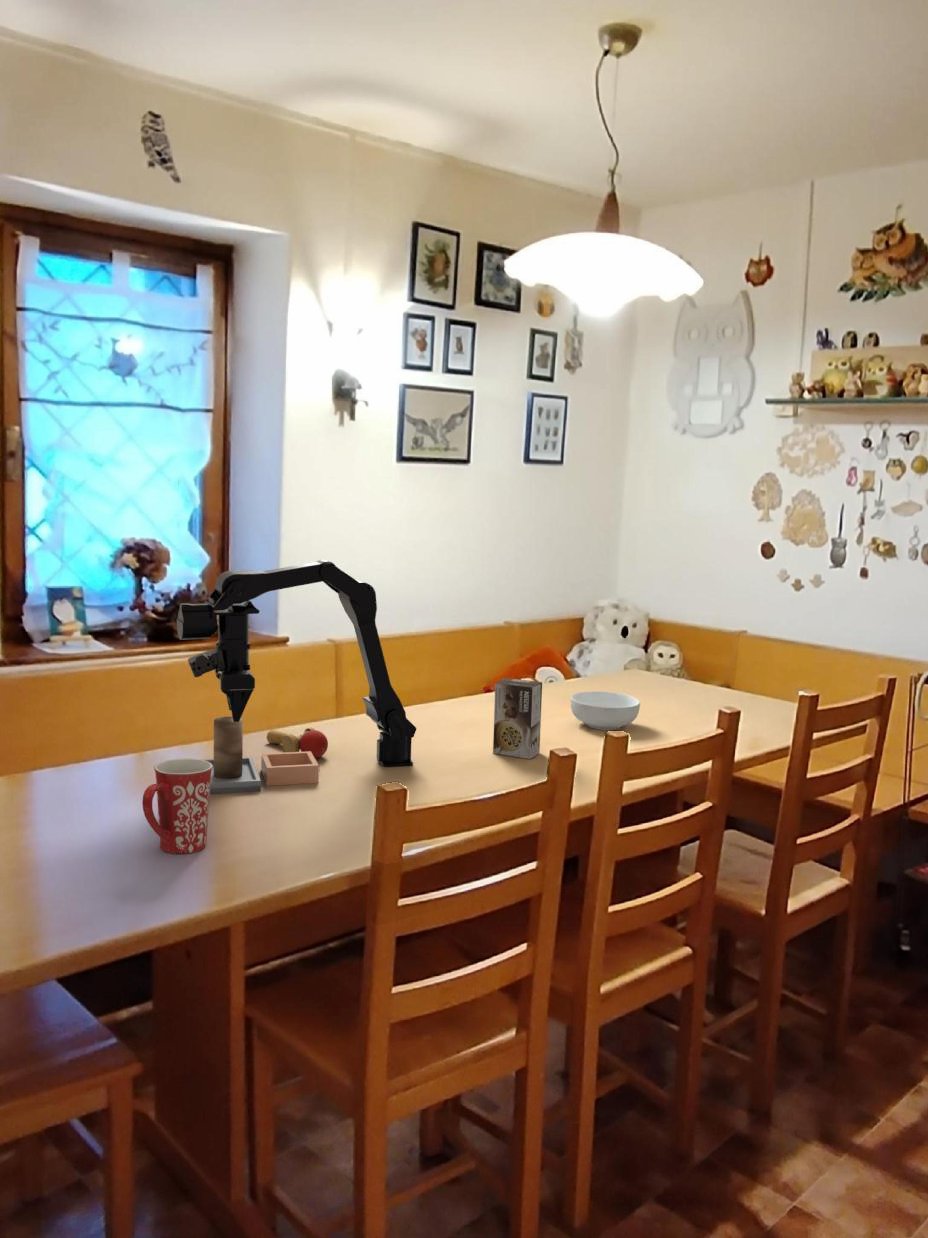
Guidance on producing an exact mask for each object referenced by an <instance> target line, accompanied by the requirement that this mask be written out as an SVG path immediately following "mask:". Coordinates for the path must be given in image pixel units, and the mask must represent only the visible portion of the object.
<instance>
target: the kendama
mask: <svg viewBox="0 0 928 1238" xmlns="http://www.w3.org/2000/svg"><path fill="white" fill-rule="evenodd" d="M266 740H267V742H268V743H269V744H275V745H278V744H281V745H282V748H283V750H284V753H286V752H307V751H311V752H312V754H313V756H314V758H315V759H319V758H322V757H323V756H324V755H325V754H326V752H327V750H328V749H329V748H328V747H329V742H328V738H327V736H326V735H325V733H323V732H321V731H320V730H316V729H315V728H313V727H307V728H305V729H304V732H303V733H302V734H300V735H297V736H296V735H294V734H293V733H286V732H281V731H278V730H274V729H272V730H269V731H268V732H267V734H266Z"/></svg>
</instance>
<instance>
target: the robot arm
mask: <svg viewBox="0 0 928 1238" xmlns="http://www.w3.org/2000/svg"><path fill="white" fill-rule="evenodd" d="M321 582H322V583H324V584H325V585H327V587H329V588H330V589H331V590H332V591H334V592H335V593H336V594H337V595H338V599H339V601H340V603H341V605H342V608H343V609H344V612H345V614H346V615H347V616H348V618H349V620H350V622H351V624H352V625H353V628H354V632H355V635H356V636H355V637H356V639H357V644H358V647H359V652H360V655H361V659H362V663H363V668H364V671H365V675H366V678H367V679H366V680H367V682H368V686H369V689H368V690H369V692H368V696H364V697H362V701H363V703H364V705H365V712H366V713H365V715H366V716H368V717H369V718H370V720H371V721H373V722H374V724H376V727H377V729H378V730H380V732H379V738H378V739H376V759H377V761H378V762H379V763H380V764H381V765H382V766H383V767H392V766H393V767H395V766H397V767H398V766H412V765H414V761H413V760H412V741H413V739H412V738H414V737H415V735H416V732H417V727H416V725H414V724H413V723H412V722H411V721H410V720H409V719H408V718H407V714H406V710H405V708H404V706H403V703H402V702H401V699H400V698H399V696H398V694H397V692H396V691H395V690H394V688H393V687H392V684H391V680H390V676H389V671H388V669H387V665H386V664H387V663H386V660H385V656H384V651H383V647H382V644H381V641H380V637H379V633H378V628H377V623H376V618H377V617H376V616H377V611H378V605H377V593H376V590H375V587H373V585H371V584H369V583H367V582H365V581H361V580H359V579H355V578H353V577H352V576H351V575H349V574H347V573H346V572H345V571H344V570H341V569H340V568H339V567H338V566H337V565H336V564H335V563H333V562H332V561H329V560H325V559H319V560H316V561H314V562H308V563H302V564H297V565H292V566H284V567H279V568H275V569H269V570H262V571H254V570H226V571H223V572H221V573H220V574H219V576H218V577H217V578H216V580H215V587H214V589H213V590H212V591H211V593H210V594H209V596H208V597H206V600H204V603H188V602H186V603H185V602H184V603H183V602H182V603H180V604H179V610H178V613H177V614H178V615H177V618H176V630H177V637H178V639H179V640H180V641H181V640H203V639H205V640H206V639H211V638H212V635H215V634H216V633H218V636H217V637H218V638H217V639H218V640H217V642H215V648H213V649H211V650H207V651H204V652H202V653H199V654H197V655H193V656H192V657H189V658H188V659H187V662H188V665H189V668H190V670H191V673H192V675H193V677H194V678H200V677H201V676H203V675H204V674H206V673H209V672H213V671H214V673H215V677H216V678H217V679H218V680H219V687H220V688H219V689H220V691H221V692H222V693H223V694H224V695H225V696H226V700H227V706H228V709H229V711H231V717H233V721H234V722H239V721H240V719H241V718H242V717H243V714H244V711H245V709H246V707H247V704H248V702H249V701H250V698H251V696H252V693H253V692H254V690H255V688H256V679H255V676H254V675H253V674H252V673H251V664H250V662H249V661H250V659H249V658H250V657H249V656H250V654H249V653H250V650H251V644H250V641H249V638H250V637H249V636H250V635H249V632H250V631H249V629H250V628H249V623H250V622H249V620H250V618H249V615H254V614H255V615H257V614H260V610H259V609H258V608H256V606H255V605H254V604H253V602H252V601H251V600H254V599H256V598H258V597H260V596H263V594H266V593H269V592H272V591H273V592H274V591H279V590H283V589H290V588H294V587H299V586H305V585H310V584H315V583H321Z"/></svg>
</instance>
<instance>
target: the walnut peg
mask: <svg viewBox="0 0 928 1238" xmlns="http://www.w3.org/2000/svg"><path fill="white" fill-rule="evenodd" d="M243 723H244V720H243V718H242V717H241V719H240V721H239V722H234V721H233V717H232V716H220V717H219V716H218V717H216V718H214V719H213V759H214V777H216V778H220V779H234V778H238V777H241V776H242V758H243V757H244V756H243V754H244V753H243V745H244V744H243V743H244V741H243V739H244V735H243V733H244V732H243V731H244V729H243V727H244V725H243Z"/></svg>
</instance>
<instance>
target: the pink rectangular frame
mask: <svg viewBox="0 0 928 1238" xmlns="http://www.w3.org/2000/svg"><path fill="white" fill-rule="evenodd" d="M260 756H261V758H260V759H261V760H260V761H261V764H260V768H261V769H260V770H261V773H262V776H263V779H264V781H265V784H266V786H282V785H283V786H284V785H298V784H302V783H303V784H317V783H319V777H320V776H319V774H320V772H319V771H320V767H319V766H320V765H319V763H318V761H317V759H316V758H314V756H313V754H312V752H311V751H307V752H301V751H299V752H272V753H268V752H267V753H265V752H264V753H261V754H260Z"/></svg>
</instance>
